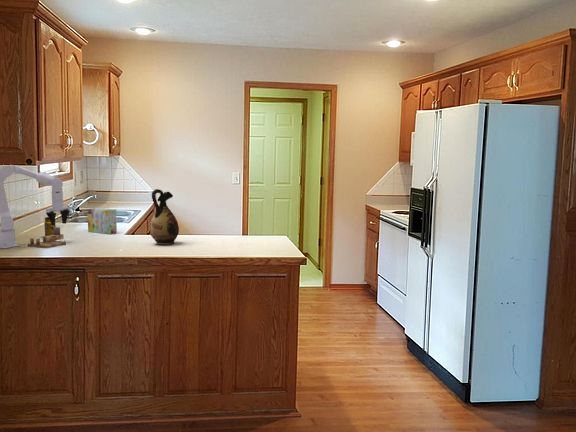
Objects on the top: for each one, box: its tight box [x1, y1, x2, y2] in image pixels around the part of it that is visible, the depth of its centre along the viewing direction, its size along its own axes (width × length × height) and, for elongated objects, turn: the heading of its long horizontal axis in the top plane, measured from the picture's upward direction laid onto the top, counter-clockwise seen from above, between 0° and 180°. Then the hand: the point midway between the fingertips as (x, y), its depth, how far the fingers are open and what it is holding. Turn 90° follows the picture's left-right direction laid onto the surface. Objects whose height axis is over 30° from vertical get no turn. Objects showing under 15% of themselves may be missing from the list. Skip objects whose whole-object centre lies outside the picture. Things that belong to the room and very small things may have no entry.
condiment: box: [40, 216, 57, 240], centre depth 336 cm, size 7×8×12 cm
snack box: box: [86, 207, 118, 235], centre depth 354 cm, size 21×6×15 cm, turn 58°
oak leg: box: [44, 233, 65, 242], centre depth 317 cm, size 10×5×2 cm, turn 156°
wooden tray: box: [27, 235, 67, 249], centre depth 308 cm, size 13×14×4 cm
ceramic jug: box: [149, 188, 180, 246], centre depth 309 cm, size 17×15×30 cm
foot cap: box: [54, 226, 61, 235], centre depth 319 cm, size 3×3×4 cm
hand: (58, 224), depth 315 cm, fingers open, 7 cm apart
